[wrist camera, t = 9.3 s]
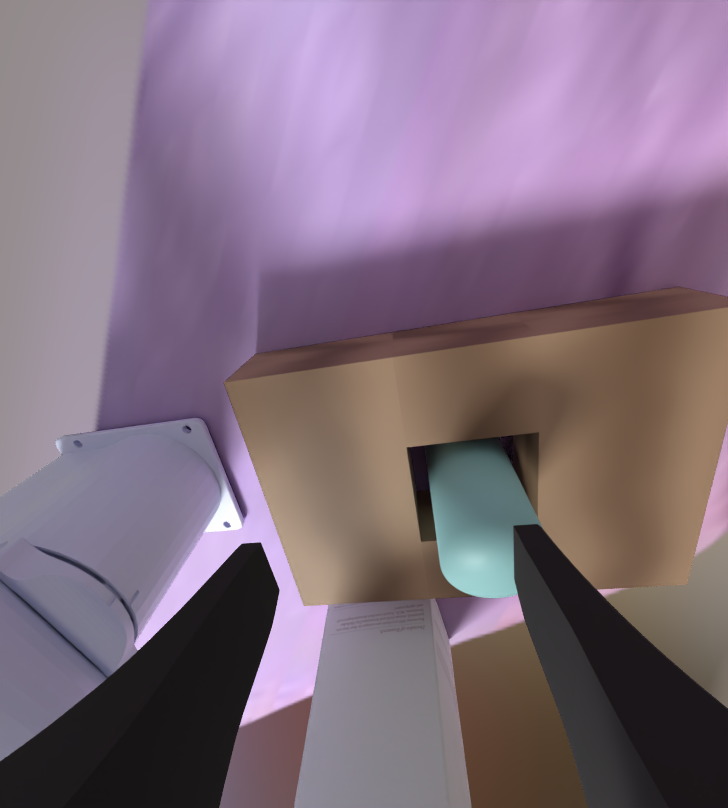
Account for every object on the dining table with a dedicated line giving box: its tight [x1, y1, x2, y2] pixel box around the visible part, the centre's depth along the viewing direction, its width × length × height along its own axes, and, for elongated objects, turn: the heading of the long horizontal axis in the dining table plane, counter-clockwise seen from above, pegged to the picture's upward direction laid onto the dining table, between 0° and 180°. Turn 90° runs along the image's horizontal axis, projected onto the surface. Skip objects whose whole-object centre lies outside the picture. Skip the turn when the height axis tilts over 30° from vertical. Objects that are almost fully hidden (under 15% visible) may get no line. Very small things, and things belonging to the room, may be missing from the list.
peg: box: [425, 437, 543, 598], centre depth 17 cm, size 4×4×8 cm
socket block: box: [224, 287, 728, 606], centre depth 19 cm, size 20×14×4 cm
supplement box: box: [294, 599, 471, 808], centre depth 22 cm, size 7×7×13 cm
